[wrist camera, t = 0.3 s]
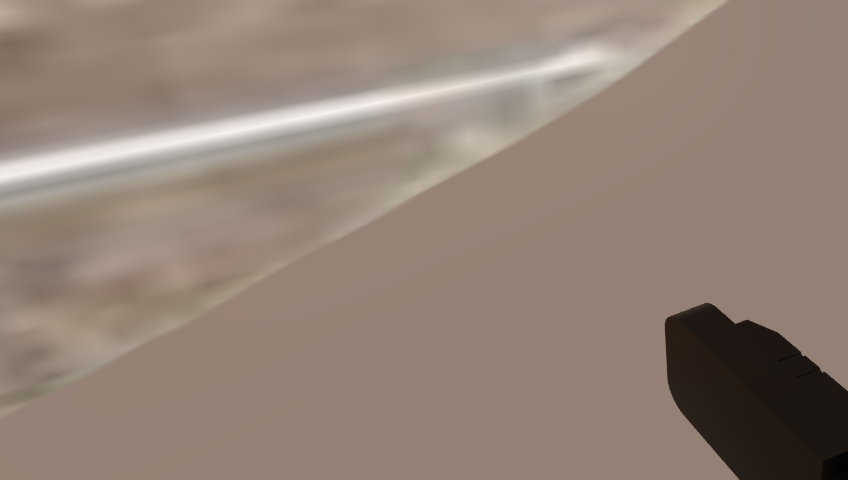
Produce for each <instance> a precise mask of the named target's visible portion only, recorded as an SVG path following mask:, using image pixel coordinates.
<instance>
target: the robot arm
mask: <svg viewBox="0 0 848 480" xmlns="http://www.w3.org/2000/svg"><path fill="white" fill-rule="evenodd" d="M665 337H666V338H665V339H666V358H667V377H668V384H669V388H670V391H671V394H672V396H673V399H674V401H675V402H676V404H677V406H678V408H679V409H680V411H681V412H682V413H683V415H684V416H685V417H686V418H687V419H688V421H689V422H690V423H691V424H692V425H693V426H694V428H695V429H696V430H697V431H698V432H699V433H700V435H701V436H702V437H703V438H704V439H705V440H706V441H707V443H708V444H709V445H710V446H711V447H712V448H713V450H714V451H715V452H716V453H717V454H718V455H719V456H720V458H721V459H722V460H723V461H724V462H725V463H726V465H727V466H728V467H729V468H730V469H731V470H732V471H733V473H734V474H735V475H736V476H737V477H738V479H739V480H848V391H847V390H846V389H845V388H843V387H842V386H841V385H840V384H838V383H837V382H836V381H835V380H834V379H833V378H831V377H830V376H829V375H828V374H827V373H825V372H823V373H822V372H821V370H820V368H819V367H818V366H817V365H816V364H815V363H813V362H812V361H811V360H810V359H809V358H808V357H806V356H802V354H801V352H800V351H799V350H798V349H797V348H796V347H794V346H793V345H792V344H791V343H790V342H788V341H787V340H786V339H785V338H784V337H782V336H781V335H780V334H779V333H777V332H775V331H773V330H770V329H768V328H766V327H763V326H761V325H759V324H756V323H754V322H751V321H749V320H745V321H743V322H740V323H737V324H735V323H734V322H732V321H731V320H730V319H729V318H728V317H727V316H726V315H724V314H723V313H722V312H721V311H720V310H719V309H718V308H717V307H715V306H714V305H712V304H709V303H704V304H702V305H699V306H696V307H694V308H691V309H689V310H686V311H683V312H680V313H678V314H675V315H673V316H670V317H668V318H667V319H666V321H665Z"/></svg>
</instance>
